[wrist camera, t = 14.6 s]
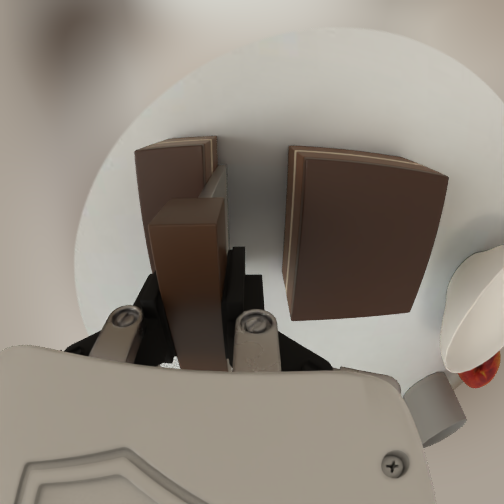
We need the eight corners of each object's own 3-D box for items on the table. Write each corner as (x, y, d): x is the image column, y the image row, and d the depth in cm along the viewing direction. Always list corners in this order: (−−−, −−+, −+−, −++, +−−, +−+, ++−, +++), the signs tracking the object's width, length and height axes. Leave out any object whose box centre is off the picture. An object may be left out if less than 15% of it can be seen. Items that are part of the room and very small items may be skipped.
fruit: (485, 314, 26) (513, 351, 19) (486, 339, 29) (508, 372, 22) (446, 347, 29) (469, 389, 22) (451, 367, 32) (470, 403, 25)
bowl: (394, 288, 23) (426, 339, 17) (496, 186, 18) (543, 213, 12) (436, 349, 29) (457, 387, 23) (513, 274, 23) (542, 303, 17)
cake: (281, 271, 22) (291, 321, 17) (288, 145, 17) (305, 158, 12) (380, 269, 22) (409, 312, 17) (402, 157, 17) (449, 177, 12)
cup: (453, 371, 33) (475, 415, 24) (423, 400, 36) (440, 442, 28) (425, 372, 31) (448, 424, 23) (393, 402, 35) (410, 451, 26)
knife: (213, 259, 22) (186, 390, 11) (207, 158, 18) (146, 225, 7) (238, 259, 22) (230, 392, 11) (236, 157, 18) (216, 223, 7)
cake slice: (179, 264, 22) (160, 312, 16) (167, 138, 17) (133, 150, 12) (222, 264, 22) (214, 314, 16) (217, 135, 17) (202, 144, 12)
